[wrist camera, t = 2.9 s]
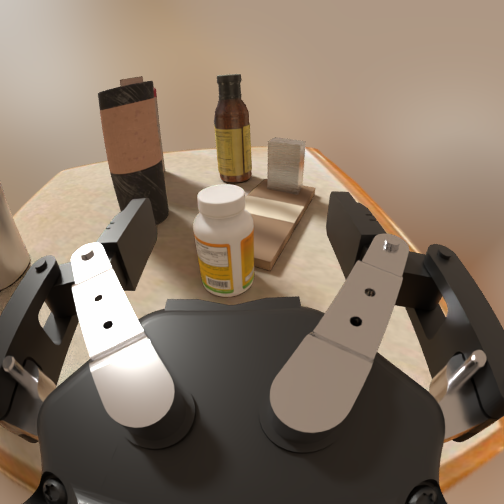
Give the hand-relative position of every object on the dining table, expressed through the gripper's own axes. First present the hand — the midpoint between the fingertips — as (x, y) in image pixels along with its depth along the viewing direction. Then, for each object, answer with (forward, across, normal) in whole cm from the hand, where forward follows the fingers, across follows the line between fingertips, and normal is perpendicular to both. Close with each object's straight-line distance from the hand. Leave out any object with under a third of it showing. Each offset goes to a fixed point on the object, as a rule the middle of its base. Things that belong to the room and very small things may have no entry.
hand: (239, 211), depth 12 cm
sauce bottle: (+38, +2, +13) cm, 40 cm away
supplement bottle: (+10, +2, +14) cm, 17 cm away
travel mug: (+24, +15, +13) cm, 32 cm away
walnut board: (+23, -3, +13) cm, 27 cm away
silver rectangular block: (+30, -6, +12) cm, 33 cm away
